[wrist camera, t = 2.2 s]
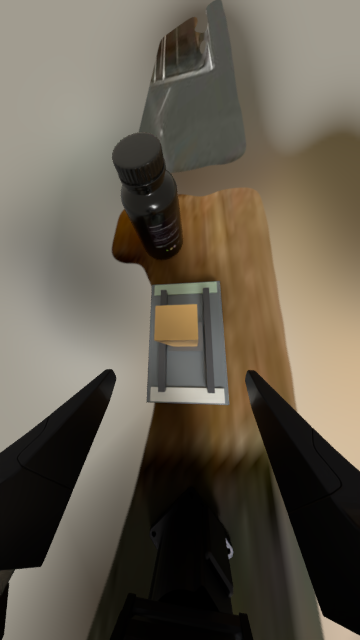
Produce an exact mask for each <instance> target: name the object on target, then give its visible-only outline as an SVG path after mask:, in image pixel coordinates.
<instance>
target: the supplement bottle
mask: <svg viewBox="0 0 360 640" xmlns="http://www.w3.org/2000/svg"><path fill="white" fill-rule="evenodd" d="M112 160H113V163H114V166H115V168H116V170H117V172H118V175H119V178H120V180H121V183H122V189H121V200H122V204H123V206H124V209H125V211H126V213H127V215H128V217H129V219H130V221H131V223H132V225H133V227H134V229H135V231H136V233H137V234H138V236H139V238H140V240H141V242H142V244H143V246H144V248H145V250H146V252H147V253H148V254H149V255H150V256H151V257H153V258H155V259H160V260H164V259H168V258H171V257H173V256H174V255H176V254H177V253H178V252H179V250H180V249H181V247H182V244H183V234H182V225H181V216H180V208H179V199H178V191H177V185H176V182H175V180H174V178H173V176H172V175H171V174H170V173H169V172H168V171H167V170H166V165H165V160H164V158H163V153H162V147H161V143H160V141H159V139H158V138H157V137H156V136H155V135H153V134H151V133H147V132H140V133H135V134H132V135H128V136H127V137H125V138H123V139H122V140H120V142H119V143H118V144H117V145H116V146H115V148H114V150H113V153H112Z"/></svg>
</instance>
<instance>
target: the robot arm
mask: <svg viewBox="0 0 360 640" xmlns="http://www.w3.org/2000/svg"><path fill="white" fill-rule="evenodd" d="M115 382H116V375H115V373H114V372H113V370H112V369H107V370H105V371H103V372H102V373H101V374H100V375H99V376H97V377H96V378H95V379H94V380H92V381H91V382H90V383H89V384H87V385H86V386H85V387H84V388H83V389H81V390H80V391H79V392H78V393H76V394H75V395H74V396H73V397H72V398H70V399H69V400H68V401H66V402H65V403H64V404H63V405H62V406H60V407H59V408H58V409H57V410H55V411H54V412H53V413H52V414H51V415H50V416H48V417H47V418H45V419H44V420H43V421H42V422H41V423H39V424H38V425H37V426H35V427H34V428H33V429H32V430H31V431H29V432H28V433H26V434H25V435H24V436H22V437H21V438H20V439H18V440H17V441H16V442H14V443H13V444H12V445H10V446H9V447H8V448H6V449H5V450H4V451H2V452H1V453H0V640H2V638H3V635H4V629H5V619H6V609H7V598H8V589H9V583H8V582H9V580H10V578H11V576H12V574H13V573H14V571H15V569H23V568H34V567H41V566H42V564H43V562H44V559H45V557H46V555H47V552H48V550H49V547H50V545H51V543H52V540H53V538H54V535H55V533H56V530H57V528H58V526H59V523H60V521H61V518H62V516H63V514H64V511H65V509H66V506H67V504H68V501H69V499H70V497H71V494H72V491H73V489H74V487H75V484H76V482H77V479H78V477H79V474H80V472H81V469H82V467H83V465H84V462H85V460H86V457H87V455H88V453H89V450H90V448H91V445H92V443H93V440H94V438H95V435H96V433H97V431H98V428H99V426H100V424H101V421H102V419H103V416H104V414H105V411H106V409H107V407H108V404H109V401H110V398H111V395H112V391H113V389H114V385H115ZM245 382H246V386H247V391H248V395H249V399H250V404H251V407H252V411H253V414H254V417H255V419H256V422H257V425H258V428H259V431H260V434H261V437H262V440H263V443H264V446H265V449H266V451H267V454H268V457H269V460H270V463H271V466H272V469H273V472H274V475H275V478H276V481H277V483H278V486H279V489H280V492H281V495H282V498H283V501H284V504H285V507H286V510H287V512H288V516H289V519H290V521H291V524H292V527H293V530H294V533H295V536H296V539H297V542H298V545H299V548H300V551H301V553H302V556H303V559H304V562H305V565H306V568H307V571H308V574H309V577H310V580H311V583H312V586H313V588H314V591H315V594H316V597H317V600H318V603H319V606H320V608H321V611H322V614H323V616H324V617H326V618H328V619H330V620H332V621H334V622H335V623H337V624H339V625H341V626H343V627H345V628H347V629H349V630H350V631H352V632H354V633H356V634H358V635H360V471H359V470H358V469H356V468H355V467H354V466H353V465H352V464H351V463H350V462H348V461H347V460H346V459H345V458H344V457H343V456H342V455H341V454H340V453H339V452H338V451H336V450H335V449H334V448H333V447H332V446H331V445H330V444H329V443H328V442H327V441H326V440H325V439H324V438H323V437H322V436H321V435H320V434H319V433H318V432H317V431H316V430H314V429H313V428H312V427H311V426H310V425H309V424H308V423H307V422H306V421H305V420H304V419H303V418H302V417H301V416H300V415H299V414H298V413H297V412H296V411H295V410H294V409H293V408H292V407H291V406H290V405H289V404H288V403H287V402H286V401H285V400H284V399H283V398H282V397H281V396H280V395H279V394H278V393H277V392H276V391H275V390H274V389H273V388H272V387H271V386H270V385H269V384H268V383H267V382H266V381H265V380H264V379H263V378H262V377H261V376H260V375H259V374H258V373H257V372H256V371H254V370H248V371H247V374H246V378H245ZM190 493H192V494H193V495H190ZM153 531H155V532H156V533H155V532H153ZM150 538H151V539H152V541H153V543H154V545H155V547H156V548H157V550H158V552H157V557H156V562H155V568H154V573H153V578H152V583H151V588H150V593H149V598H148V599H144V598H138V597H136V594H132V593H129V594H128V596H127V599H126V601H125V604H124V607H123V609H122V610H121V612H120V615H119V617H118V620H117V622H116V625H115V627H114V630H113V633H112V635H111V638H110V640H253V637H252V633H251V629H250V624H249V620H248V616H247V614H245V613H239V615H233V612H232V605H231V598H230V597H231V596H232V595H233V582H232V576H231V570H230V563H229V559H230V558H231V557H232V555H233V549H232V544H231V542H230V540H229V539H228V538H227V536H226V535H225V532H224V529H223V527H222V526H221V524H220V523H219V521H218V520H217V518H216V517H215V515H214V514H213V512H212V511H211V510H210V508H209V507H208V506H207V505H205V504H204V502H203V501H202V499H201V498H200V496H199V495H198V493H197V492H196V490H195V489H194V488H193V487H190V488H188V489H187V490H186V491H185V492H184V493H183V494H182V495H181V496H180V497H179V498H178V499H177V500H176V501H175V502H174V503H173V504H172V505H171V506H170V507H169V508H168V509H167V510H166V511H165V512H164V513H163V514H162V515H161V516H160V517H159V518H158V519H157V520H156V521H155V522H154V523H153V524H152V526H151V529H150ZM227 548H229V549H227Z"/></svg>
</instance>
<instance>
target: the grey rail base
mask: <svg viewBox="0 0 360 640" xmlns="http://www.w3.org/2000/svg"><path fill="white" fill-rule="evenodd" d="M188 304H197V318H198V322H202V331H203V351H168V345H167V344H164V343H161V342H158V341H154V333H155V306H164V305H188ZM147 385H148V386H147V402H154V403H184V404H215V405H229V395H228V382H227V369H226V356H225V343H224V329H223V316H222V303H221V290H220V281H211V282H194V283H177V284H159V285H152V296H151V319H150V340H149V362H148V384H147Z"/></svg>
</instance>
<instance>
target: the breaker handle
mask: <svg viewBox="0 0 360 640" xmlns="http://www.w3.org/2000/svg"><path fill="white" fill-rule="evenodd" d="M154 341H158V342H161V343H164V344H167V345H168V351H203V331H202V322H198V318H197V304H188V305H164V306H155V333H154Z"/></svg>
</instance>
